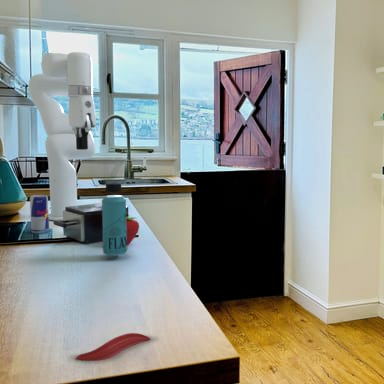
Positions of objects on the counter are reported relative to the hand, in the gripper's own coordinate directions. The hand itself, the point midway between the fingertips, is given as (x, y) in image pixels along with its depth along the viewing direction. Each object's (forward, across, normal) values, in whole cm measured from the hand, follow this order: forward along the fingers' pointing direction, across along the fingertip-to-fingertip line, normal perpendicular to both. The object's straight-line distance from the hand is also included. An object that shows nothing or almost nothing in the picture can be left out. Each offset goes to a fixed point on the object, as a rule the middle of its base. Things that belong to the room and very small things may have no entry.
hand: (82, 149), depth 157 cm
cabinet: (+27, -12, +2) cm, 30 cm away
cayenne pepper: (+27, -84, +39) cm, 96 cm away
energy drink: (+27, +7, +12) cm, 31 cm away
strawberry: (+27, -27, +1) cm, 38 cm away
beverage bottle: (+27, -37, +11) cm, 47 cm away
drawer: (+26, -12, +6) cm, 29 cm away
